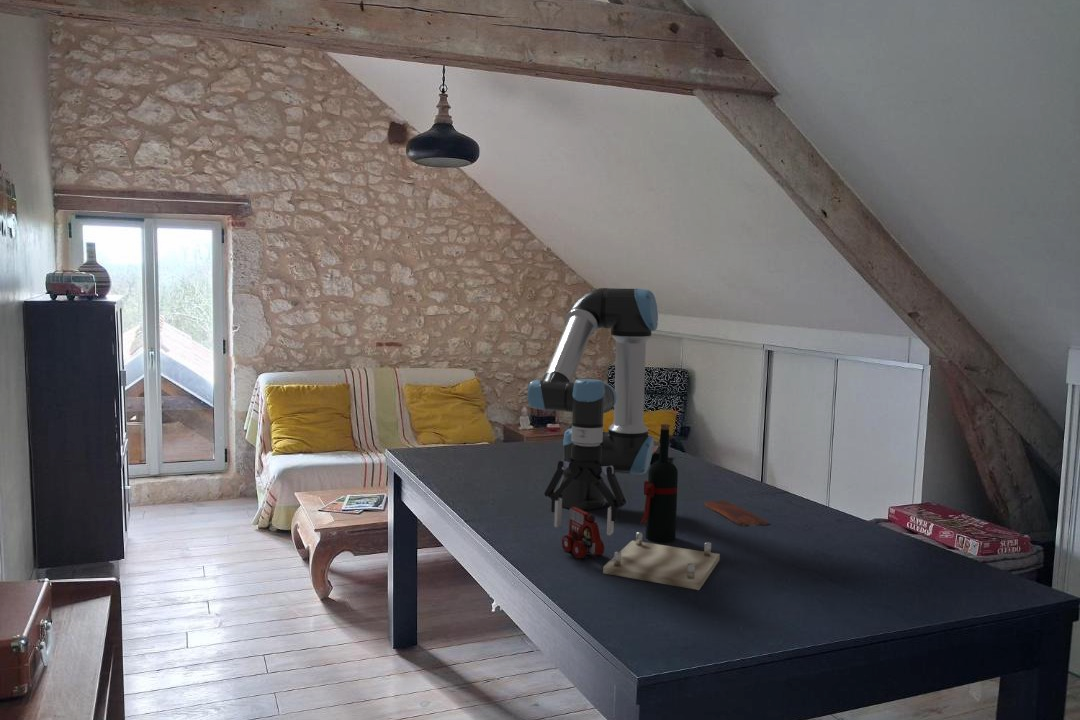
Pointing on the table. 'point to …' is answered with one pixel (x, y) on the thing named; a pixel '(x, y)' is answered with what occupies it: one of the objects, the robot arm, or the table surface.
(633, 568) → the standoff plate
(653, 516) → the wine bottle
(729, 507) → the wooden tablet
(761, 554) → the table surface
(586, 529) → the toy fire truck
